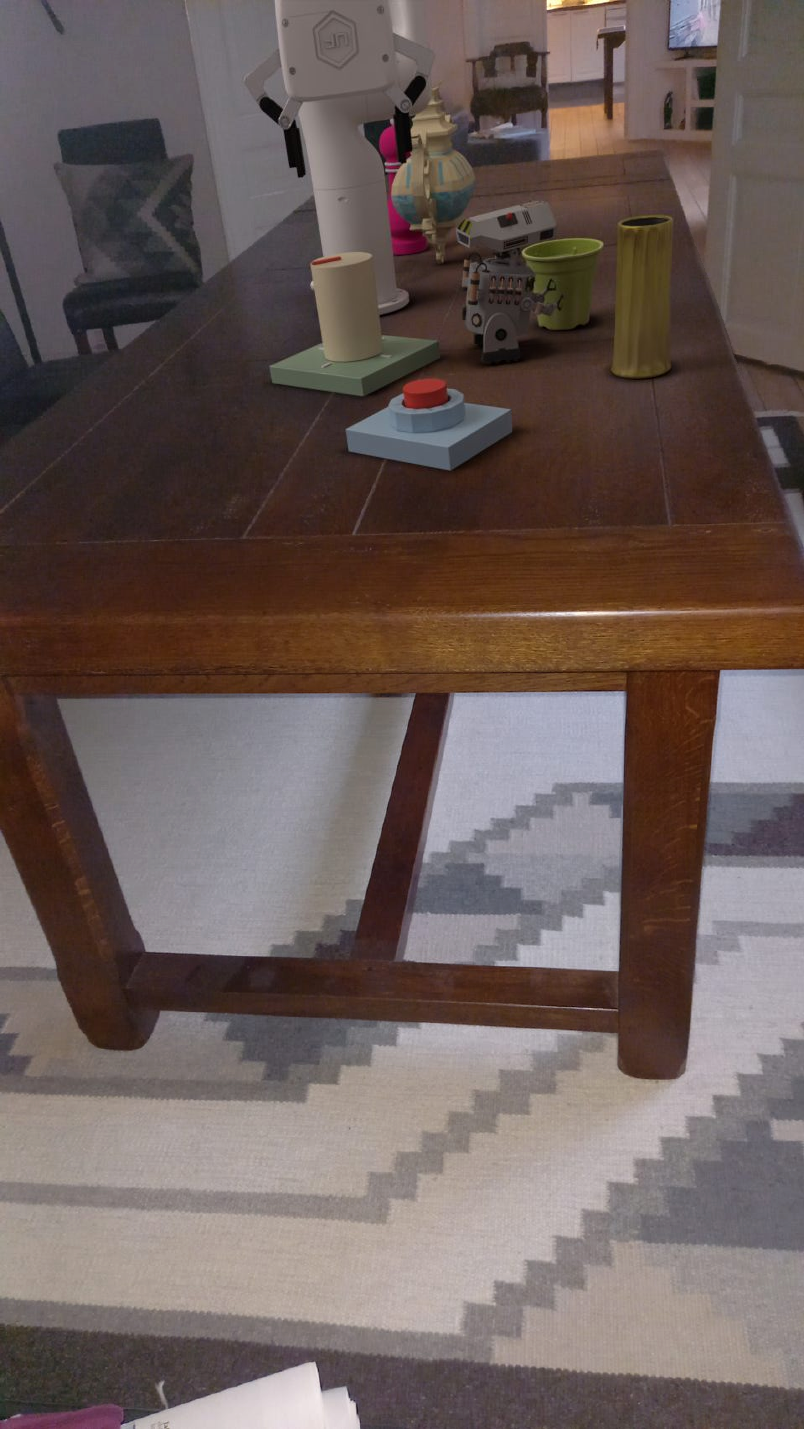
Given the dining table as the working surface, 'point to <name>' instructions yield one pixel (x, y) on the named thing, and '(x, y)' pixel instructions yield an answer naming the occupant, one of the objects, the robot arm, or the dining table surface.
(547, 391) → the dining table surface
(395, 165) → the pepper mill
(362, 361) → the swivel stand
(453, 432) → the button box
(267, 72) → the robot arm
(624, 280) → the vase
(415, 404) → the button
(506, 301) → the figurine
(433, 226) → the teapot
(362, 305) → the cream cylinder red stripe
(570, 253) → the plant pot
